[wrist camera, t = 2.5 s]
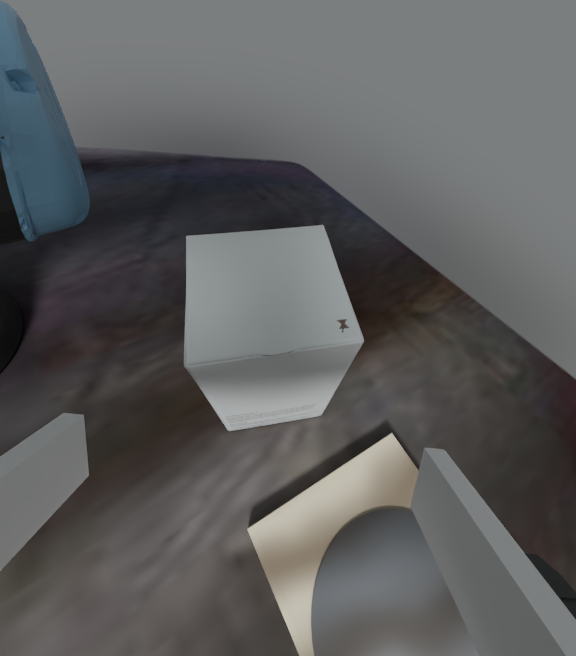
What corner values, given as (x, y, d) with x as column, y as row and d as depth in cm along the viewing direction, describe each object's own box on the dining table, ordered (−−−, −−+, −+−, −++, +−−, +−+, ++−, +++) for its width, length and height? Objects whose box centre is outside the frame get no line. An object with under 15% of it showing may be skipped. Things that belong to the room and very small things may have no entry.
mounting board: (248, 527, 22) (246, 529, 21) (387, 435, 26) (392, 432, 25) (427, 960, 14) (442, 1004, 13) (590, 728, 18) (612, 744, 17)
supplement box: (304, 334, 31) (328, 219, 19) (323, 417, 27) (372, 342, 14) (219, 344, 30) (182, 230, 17) (224, 433, 26) (180, 368, 13)
